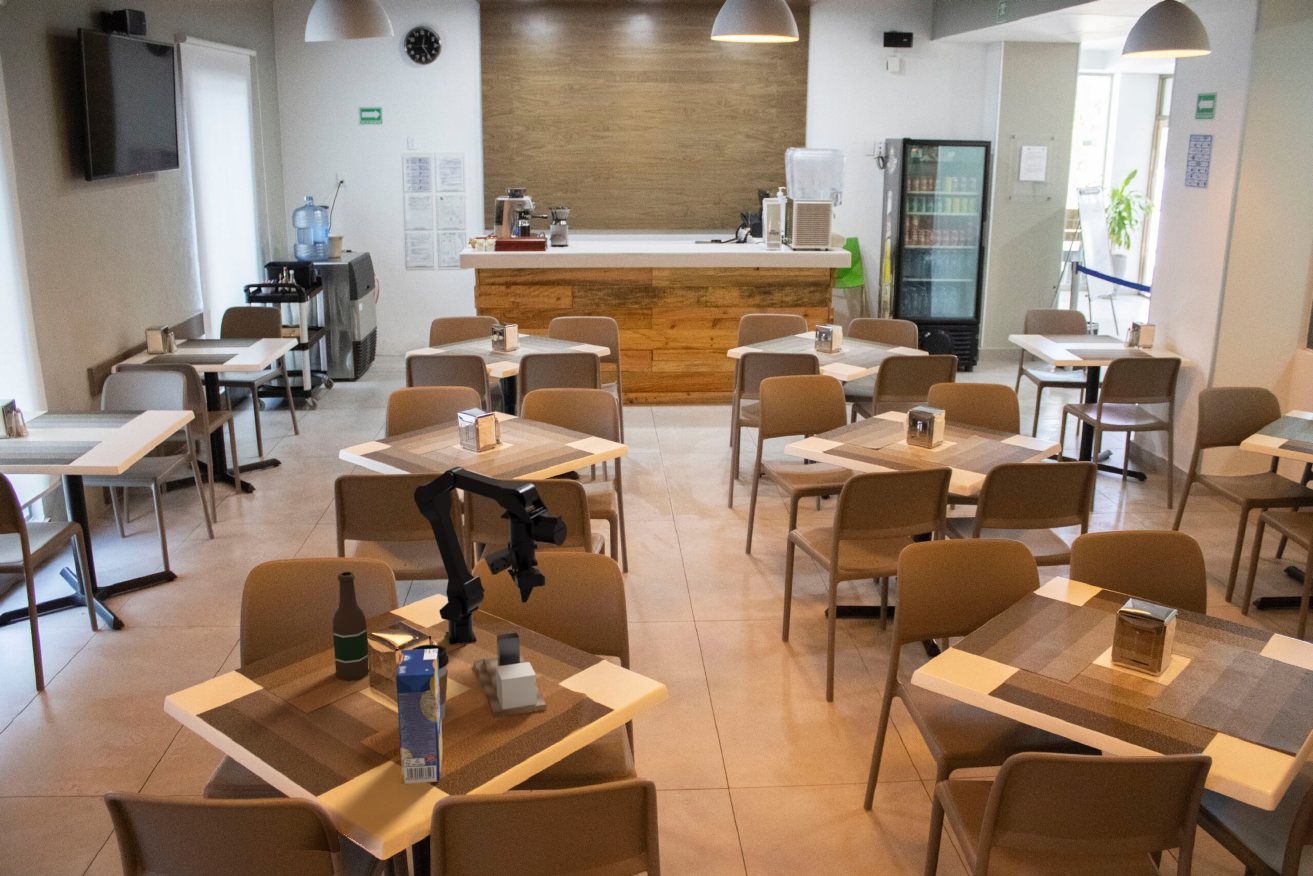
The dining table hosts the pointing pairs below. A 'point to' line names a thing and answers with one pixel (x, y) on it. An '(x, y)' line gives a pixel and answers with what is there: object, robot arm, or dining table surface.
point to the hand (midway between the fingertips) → (524, 602)
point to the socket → (516, 685)
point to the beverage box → (419, 715)
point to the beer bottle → (350, 633)
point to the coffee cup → (440, 673)
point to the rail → (489, 684)
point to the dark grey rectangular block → (508, 649)
